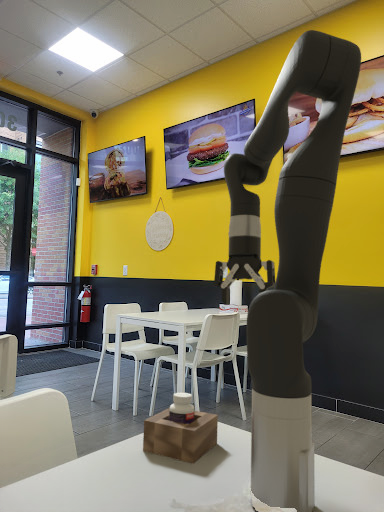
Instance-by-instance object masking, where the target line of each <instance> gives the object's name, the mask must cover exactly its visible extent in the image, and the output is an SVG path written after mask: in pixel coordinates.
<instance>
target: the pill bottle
mask: <svg viewBox="0 0 384 512" xmlns="http://www.w3.org/2000/svg"><path fill="white" fill-rule="evenodd" d="M172 398H173V399H172V402H173V403H172V404H170V406H169V408H170V410H169V421H173V422H178V423H183V424H188V425H189V424H190V423H192V422H193V421H194V411H195V406H194V405H193V404H192V400H193V394H191V393H188V392H174V393H173V397H172Z"/></svg>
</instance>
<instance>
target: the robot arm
mask: <svg viewBox="0 0 384 512" xmlns="http://www.w3.org/2000/svg"><path fill="white" fill-rule="evenodd" d="M361 66H362V52H361V49H360V47H359V45H358V44H356V43H354V42H352V41H351V40H348V39H344V38H341V37H337V36H335V35H332V34H329V33H326V32H322V31H320V30H314V29H309V30H305V31H304V32H303V33H302V34H301V35H300V36H299V37H298V38H297V40H296V41H295V42H294V44H293V46H292V48H291V49H290V51H289V53H288V55H287V56H286V59H285V61H284V64H283V66H282V68H281V71H280V73H279V75H278V77H277V80H276V82H275V84H274V87H273V89H272V92H270V93H271V94H270V96H269V99H268V101H267V104H266V106H265V108H264V111H263V113H262V116H261V117H260V119H259V121H258V123H257V125H256V126H255V128H254V129H253V131H252V133H251V134H250V135H249V137H248V138H247V140H246V142H245V144H244V147H243V153H235V152H234V153H231V154H230V155H228V156H227V157H226V160H225V161H224V166H223V175H224V179H225V183H226V186H227V190H228V195H229V196H228V197H229V201H230V213H229V214H230V216H229V217H230V218H229V226H228V260H227V262H226V261H219V260H216V262H215V267H214V268H215V270H214V278H213V280H214V281H213V284H214V286H216V287H218V288H220V289H221V302H222V303H223V305H224V306H230V305H231V303H230V301H231V289H230V287H231V286H232V285H233V283H235V282H236V280H253V281H254V283H256V284H257V286H258V287H259V290H258V294H257V295H256V296H255V297H253V299H252V301H251V302H250V305H249V307H248V311H247V315H246V353H247V354H246V357H247V358H246V359H247V361H246V362H247V369H248V372H249V375H250V378H251V428H250V429H251V432H250V433H251V434H250V436H251V438H250V441H251V442H250V443H251V444H250V446H251V447H250V488H251V491H252V493H253V494H254V496H255V497H256V498H257V499H259V500H260V501H261V502H263V503H265V504H267V505H268V506H270V507H280V508H295V509H296V510H297V512H313V511H314V509H315V508H314V507H315V503H316V501H315V481H316V480H315V441H314V440H313V439H312V437H313V436H312V430H313V429H312V426H313V425H312V424H313V422H312V420H313V419H312V377H311V376H310V374H309V373H308V372H307V371H306V368H305V363H304V343H305V342H306V341H307V340H309V339H310V338H311V336H312V335H313V333H314V331H315V329H316V327H317V323H318V316H319V315H318V314H319V296H320V295H319V294H320V279H321V278H320V277H321V267H322V261H323V256H324V252H325V248H326V243H327V238H328V233H329V228H330V227H329V226H330V221H331V215H332V212H333V206H334V200H335V194H336V188H337V183H338V181H337V180H338V173H339V167H340V166H339V165H340V161H341V155H342V148H343V142H344V137H345V132H346V127H347V123H348V119H349V115H350V112H351V108H352V104H353V100H354V96H355V93H356V90H357V89H356V88H357V85H358V80H359V77H360V71H361ZM296 93H299V94H302V95H305V96H308V97H311V98H315V99H319V100H321V108H320V112H319V116H318V119H317V122H316V124H315V126H314V128H313V129H312V131H311V132H310V133H309V135H308V136H307V137H306V138H305V139H304V140H303V141H302V142H301V144H300V145H299V146H298V147H297V148H296V149H295V150H294V151H293V152H292V153H291V155H289V157H288V158H287V160H286V161H285V163H284V164H283V166H282V168H281V170H280V172H279V177H278V183H277V188H276V192H275V193H276V194H275V200H274V211H273V212H274V223H275V224H274V225H275V234H276V238H277V247H278V267H277V273H276V267H275V262H274V261H273V260H271V259H268V260H264V261H262V257H261V256H262V255H261V252H262V251H261V250H262V248H261V247H262V245H261V243H262V227H261V225H262V224H261V198H260V196H259V195H258V194H257V193H255V192H253V191H250V190H248V189H246V187H245V186H244V185H247V186H259V185H262V184H263V183H264V182H265V181H266V180H267V177H268V173H269V171H270V167H271V164H272V162H273V160H274V158H275V157H276V156H277V154H279V152H280V150H281V149H282V148H283V147H284V145H285V144H286V142H287V140H288V136H289V134H290V118H289V102H290V100H291V98H292V97H293V95H294V94H296ZM226 268H227V269H228V270H229V272H228V273H227V275H226V276H225V279H224V271H225V270H226ZM262 268H263V269H264V270H265V271H266V276H267V278H266V279H267V280H266V281H267V282H266V281H264V278H263V277H262V275H261V273H259V272H260V271H261V269H262ZM270 288H271V289H270ZM272 288H273V289H272ZM251 491H250V492H251Z"/></svg>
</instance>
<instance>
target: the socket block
mask: <svg viewBox="0 0 384 512" xmlns="http://www.w3.org/2000/svg"><path fill="white" fill-rule="evenodd" d="M169 410H170V407H169V408H166V409H164V410H162V411H160V412H159V413H156V414H154V415H152V416H150V417H148V418H145V419H144V421H143V437H142V438H143V439H142V440H143V441H142V451H143V452H146V453H150V454H155V455H158V456H162V457H166V458H170V459H172V460H178V461H182V462H185V463H188V464H195V463H196V462H198V461H199V460H200V459H201V458H202V457H204V455H206V453H208V452H209V451H210V450H212V448H214V447H215V446H216V445H217V444H218V421H219V419H218V416H219V415H218V414H215V413H208V412H204V411H198V410H194V421H193V422H192V423H190V424H189V425H188V424H183V423H178V422H173V421H169Z"/></svg>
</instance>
